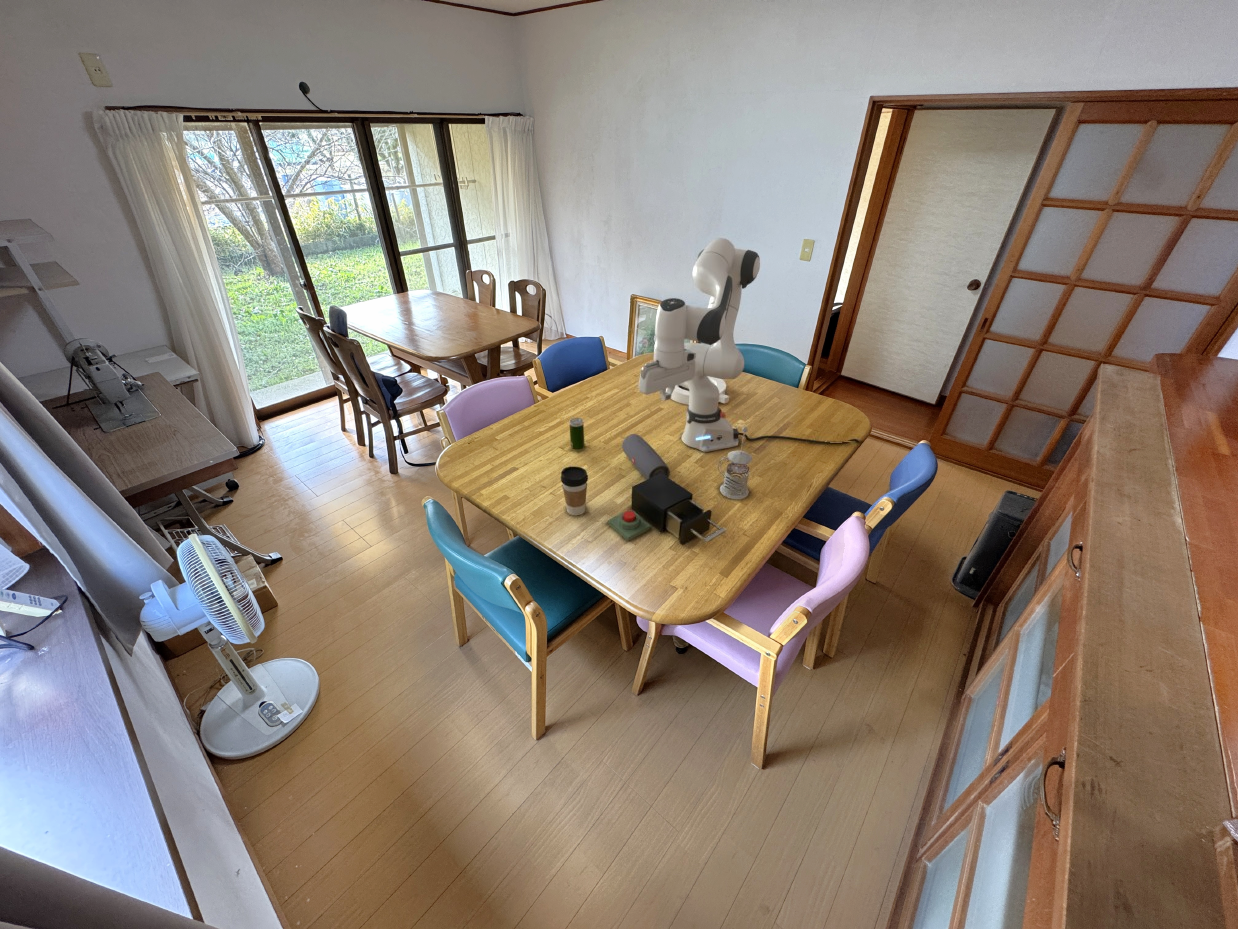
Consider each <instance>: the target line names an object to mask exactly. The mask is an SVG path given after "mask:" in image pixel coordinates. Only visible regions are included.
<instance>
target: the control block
mask: <svg viewBox="0 0 1238 929" xmlns="http://www.w3.org/2000/svg"><path fill="white" fill-rule="evenodd" d="M626 511H632V512H634V513H635V520H634V521H633V522H625V521H624V519H623V514H624V512H626ZM626 511H623V512H621V513H619V514H618V515H615V516H614V517H612V518H610V519H608V520H607V524H608V525H609V527H611V529H613V530H615V531H616V532H617V533H618V534H619V535H620V536H622V538H623V539H625V540H626V541H627V542H629V541H631V540H633V539H635V538H637V537H638V536H640V535H642V534H644V533H646V532H648V531H650V530H651V526H652V525H651V524H650V523H648V522H647V521H646V520H645V519H643V518H642V517H641V516H640V515H638V514H637V513H636V512H635V511H633V510H632V509H631V508H629V509H627V510H626Z"/></svg>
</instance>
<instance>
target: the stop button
mask: <svg viewBox="0 0 1238 929" xmlns="http://www.w3.org/2000/svg"><path fill="white" fill-rule="evenodd" d="M632 511H633V510H632ZM632 511H628V510H626V512H625V511H623V512H624V514H623V519H624V521H625V522H633V521H634V520H635V513H636V512H635V511H633V512H632ZM634 512H635V513H634Z"/></svg>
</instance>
